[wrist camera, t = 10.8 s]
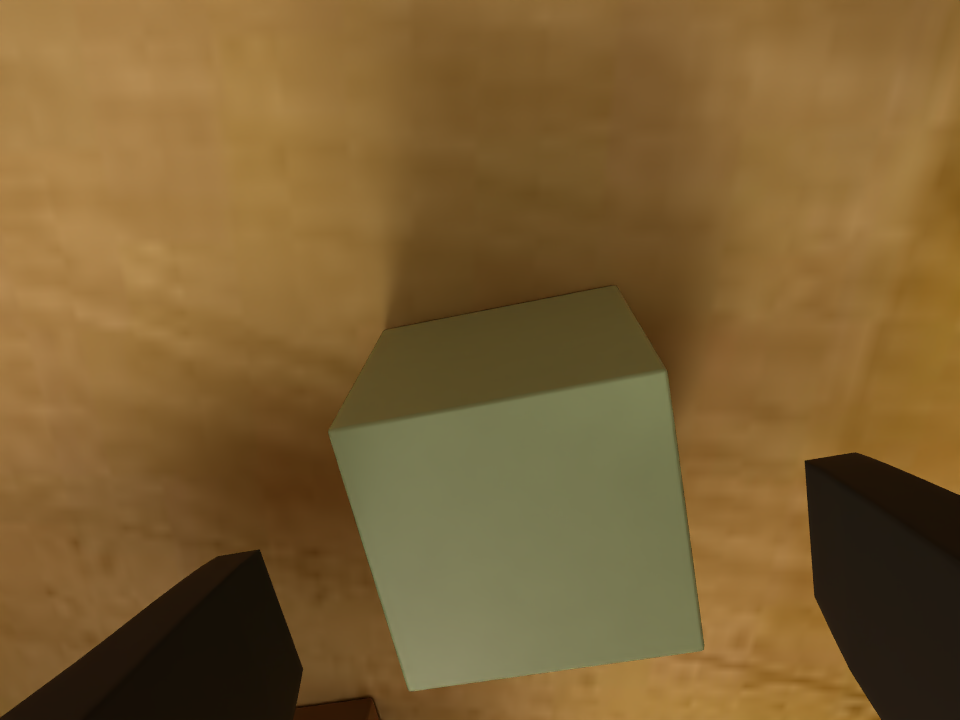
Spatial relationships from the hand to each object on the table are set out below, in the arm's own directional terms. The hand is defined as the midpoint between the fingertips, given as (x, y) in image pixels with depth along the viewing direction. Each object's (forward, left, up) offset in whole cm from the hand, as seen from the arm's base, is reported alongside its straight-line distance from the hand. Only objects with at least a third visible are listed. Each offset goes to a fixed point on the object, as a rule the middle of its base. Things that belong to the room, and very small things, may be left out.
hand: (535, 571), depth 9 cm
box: (0, 0, -5) cm, 5 cm away
